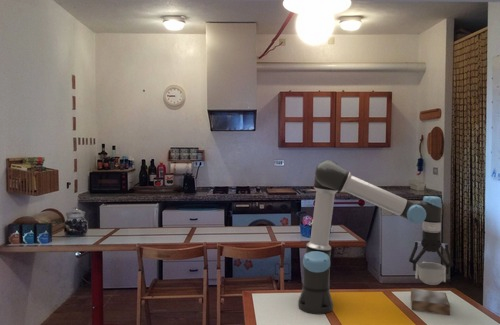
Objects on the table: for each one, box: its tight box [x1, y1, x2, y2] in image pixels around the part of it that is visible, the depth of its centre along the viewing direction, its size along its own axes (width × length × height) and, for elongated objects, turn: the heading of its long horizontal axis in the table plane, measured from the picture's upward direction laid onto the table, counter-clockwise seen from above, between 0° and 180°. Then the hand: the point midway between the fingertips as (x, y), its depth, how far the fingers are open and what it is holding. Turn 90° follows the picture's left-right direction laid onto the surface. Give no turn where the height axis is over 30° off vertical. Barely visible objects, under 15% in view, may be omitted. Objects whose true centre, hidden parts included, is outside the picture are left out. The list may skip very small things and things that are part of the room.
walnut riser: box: [410, 288, 451, 316], centre depth 185 cm, size 15×17×4 cm
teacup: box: [418, 261, 445, 286], centre depth 185 cm, size 14×11×8 cm
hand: (430, 279), depth 185 cm, fingers closed on teacup, 11 cm apart
